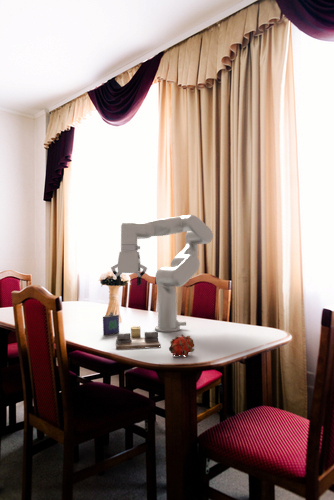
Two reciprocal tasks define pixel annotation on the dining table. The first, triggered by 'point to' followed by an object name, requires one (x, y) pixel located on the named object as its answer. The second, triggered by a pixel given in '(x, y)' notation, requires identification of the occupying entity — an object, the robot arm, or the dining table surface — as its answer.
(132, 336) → the coupler
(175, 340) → the dragon fruit
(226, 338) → the dining table surface
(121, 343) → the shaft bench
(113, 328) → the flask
